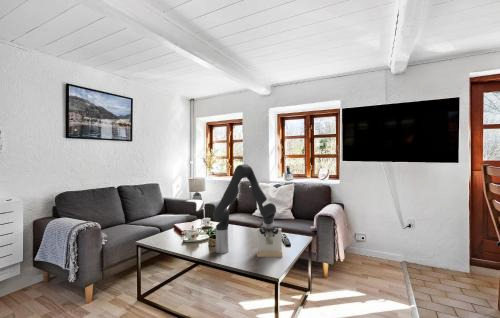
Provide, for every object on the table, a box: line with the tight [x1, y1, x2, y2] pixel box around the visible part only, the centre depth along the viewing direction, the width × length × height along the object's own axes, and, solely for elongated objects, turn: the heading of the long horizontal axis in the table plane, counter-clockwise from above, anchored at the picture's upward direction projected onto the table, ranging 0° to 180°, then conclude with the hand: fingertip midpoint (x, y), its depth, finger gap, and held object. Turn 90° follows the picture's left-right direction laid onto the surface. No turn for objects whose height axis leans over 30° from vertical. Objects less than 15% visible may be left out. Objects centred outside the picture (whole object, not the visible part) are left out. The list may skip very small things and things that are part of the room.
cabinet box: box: [266, 232, 273, 244], centre depth 183 cm, size 5×3×11 cm, turn 85°
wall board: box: [256, 228, 283, 258], centre depth 183 cm, size 18×8×18 cm, turn 85°
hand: (269, 235), depth 185 cm, fingers closed on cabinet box, 5 cm apart
